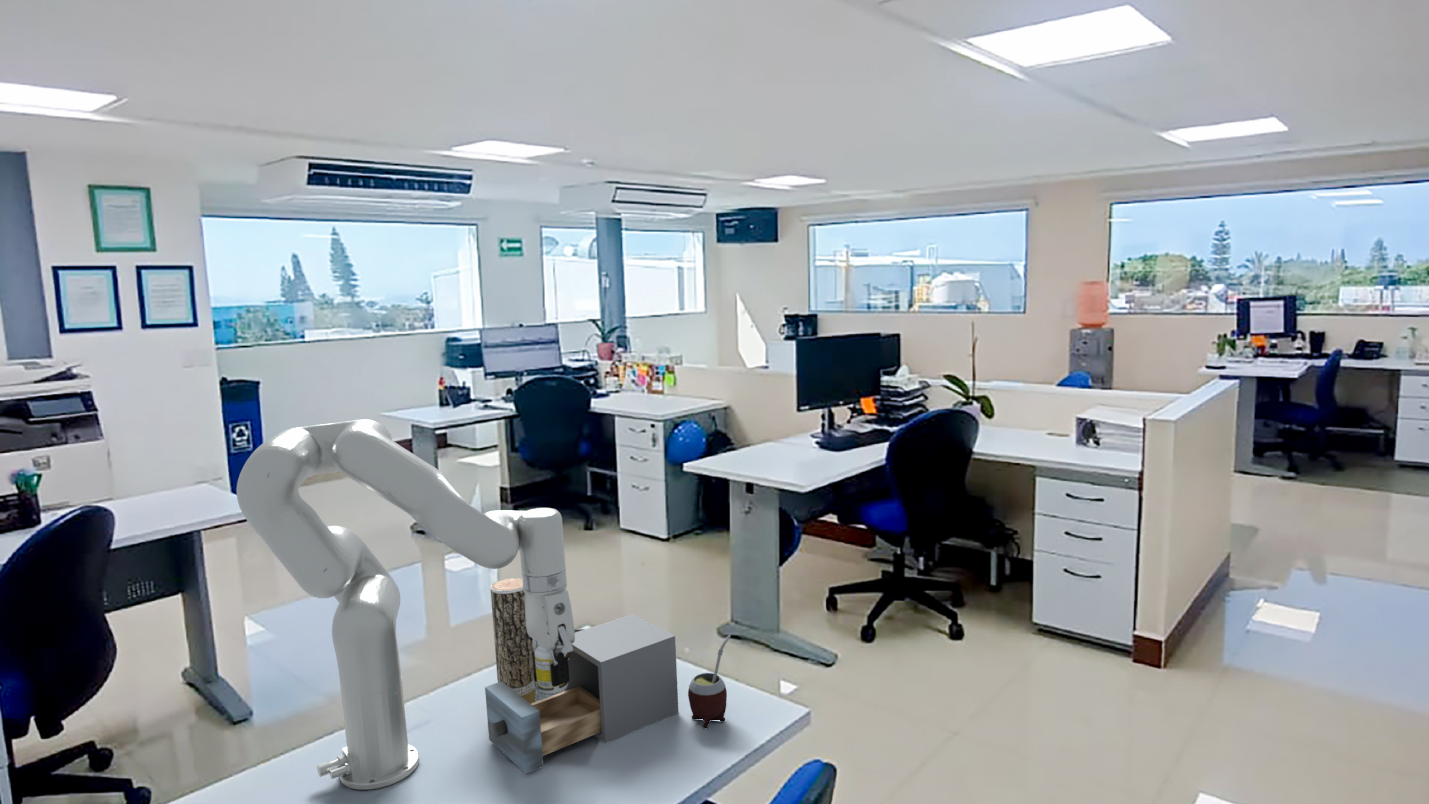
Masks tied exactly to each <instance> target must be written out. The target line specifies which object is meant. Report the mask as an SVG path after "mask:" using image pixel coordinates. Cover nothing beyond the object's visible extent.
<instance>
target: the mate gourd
mask: <svg viewBox="0 0 1429 804" xmlns="http://www.w3.org/2000/svg"><path fill="white" fill-rule="evenodd" d="M731 636H732V635H731V634H730V633H729V634H728V635H727V637H726V638H725V640H724V641H723V642H722V644H721V645H720V648H719V649H718V651H717V659H716V663H715V664H716V665H715V668H714V673H713V672H703V673H699V674H696V675H695V676H694V677H693V678H692V680H691V682H690V683H689V685H688V691H687V693H688V694H687V697H688V702H689V706H690V711H691V713H692V716H691V720H692V719H703V720H704V721H703V724H702V728H703V727H704V728H703V729H705V728H707V729H708V727H709V725H710V723H709V721H710V720H720V721H726V717H725V715H726V709H727V698H728V695H727V692H728V691H727V687H726V684H725V681H724V680H723V679H722V677H721V676H720V675H718V673H719V667H720V664H721V663H720V662H721V658H722V656H723V652H724V648H725V646H726V644H727V643H728V641H730V640H729V639H730V638H731ZM708 724H709V725H708ZM707 726H708V727H707Z"/></svg>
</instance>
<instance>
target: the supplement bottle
mask: <svg viewBox="0 0 1429 804" xmlns="http://www.w3.org/2000/svg"><path fill="white" fill-rule="evenodd" d="M558 644H560V641H558V642H556V643H555V645H558ZM538 645H539V646H538V647H537V648H536V649H535V664H536V676H537V681H536V685H537V689H538V691H539V692H540V693H543V694H547V695H549V694H558V693H561V692H563V691H564V689H565V688H566V687H567V686H568V682H567V683H564V684H561V685H559V686H556V687H554V686H552V682H551V669H550V665H551V664H552V659H551V655H550V651H549V648H547V647H545V646H543V645H542V644H540V643H539V642H538ZM555 651H556V656H557V655H558V653H560V652H561V651H562V650H561V648H560V649H557V650H555Z"/></svg>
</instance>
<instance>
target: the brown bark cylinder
mask: <svg viewBox="0 0 1429 804" xmlns="http://www.w3.org/2000/svg"><path fill="white" fill-rule="evenodd" d="M490 599H491V600H490V601H491V610H492V611H491V612H492V613H491V614H492V625H493V626H492V627H493V637H494V638H493V639H494V650H495V652H494V653H495V663H496V676H497V678H496V680H497V683H498V682H501V681H502V682H503V683H505V684H506V685H507V686H509V687H510V688H511V689H512V690H514V691H515V692H516V693H517V694H519V695H520V696H521V697H522V698H524V699H525V700H526V701H528V702H529V703H530V704H531V703H534V702H537V700H536V688H535V687H536V685H535V681H534V669H533V655H532V641H531V639H530V636H529V635H528V633H527V629H526V621H525V593H524V591H523V582H522V578H520V577H519V578H518V577H517V578H515V577H514V578H513V577H511V578H505V579H500V580H497V581H495V582H493V583H492V584H490Z"/></svg>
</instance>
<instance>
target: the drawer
mask: <svg viewBox="0 0 1429 804" xmlns="http://www.w3.org/2000/svg"><path fill="white" fill-rule="evenodd" d="M484 690H485V691H484V692H485V693H484V694H485V704H486V715H487V716H486V717H487V731H488V741H490V742H491V743H492V744H493V745H494V746H495V747H496V748H497V749H499V751H501V753H503V754H504V755H505V756H506V757H507V758H508V759H509V760H510V761H511V762H512V763H513V764H515V765H516V766H517V767H518V768H519V769H520V770H521V771H522V772H523V773H524V774H525V775H528V774H529V773H532V772H534V771H537V770H539V769H541V768H544V756H547V755H548V754H551V753H553V752H556V751H559V750H561V749H563V748H565V747H567V746H570V745H573V744H575V743H578V742H579V741H583V740H585V739H587V738H590V737H593V736H595V734H597V733H599V732H602V729H601V712H600V700H599V699H598V698H596V697H595V696H594V695H592V694H591V693H589V692H588V691H586V690H585V689H583V688H582V687H580V686H577V687H575V688H572V689H569V690H566V691H564V690H563V691H560V692H557V693H555V694H553V695H550V696H548V697H545V698H542V699H540V700H536V702H534V703H531V704H530V703H529V702H528V701H526V700H525V699H524V698H522V697H521V696H520V695H519V694H517V693H516V692H515V691H514V690H512V689H511V688H510V687H509V686H507V685H506V684H505V683H503V682H502V681H501V682H498V681H497V682H496V683H492V684H489V685H487V686H485V687H484Z"/></svg>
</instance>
